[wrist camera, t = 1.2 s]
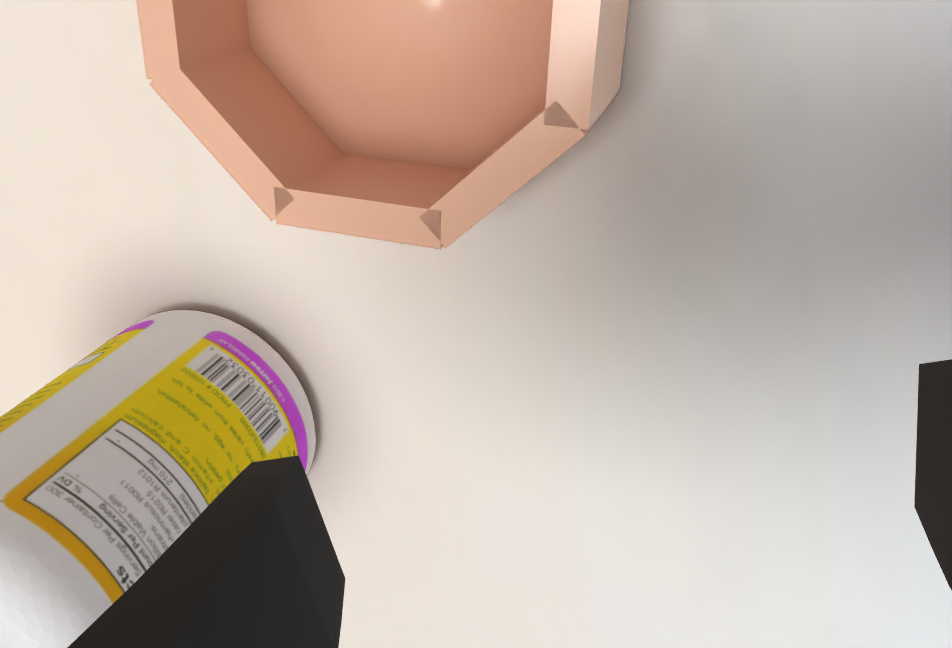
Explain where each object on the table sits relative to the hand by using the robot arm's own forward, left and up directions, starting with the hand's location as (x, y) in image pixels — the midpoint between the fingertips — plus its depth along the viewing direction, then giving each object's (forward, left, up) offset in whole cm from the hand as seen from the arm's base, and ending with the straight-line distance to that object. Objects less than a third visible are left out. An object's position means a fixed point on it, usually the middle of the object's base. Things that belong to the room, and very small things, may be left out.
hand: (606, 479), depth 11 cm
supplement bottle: (+12, +8, -11) cm, 18 cm away
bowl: (+6, -4, -10) cm, 13 cm away
